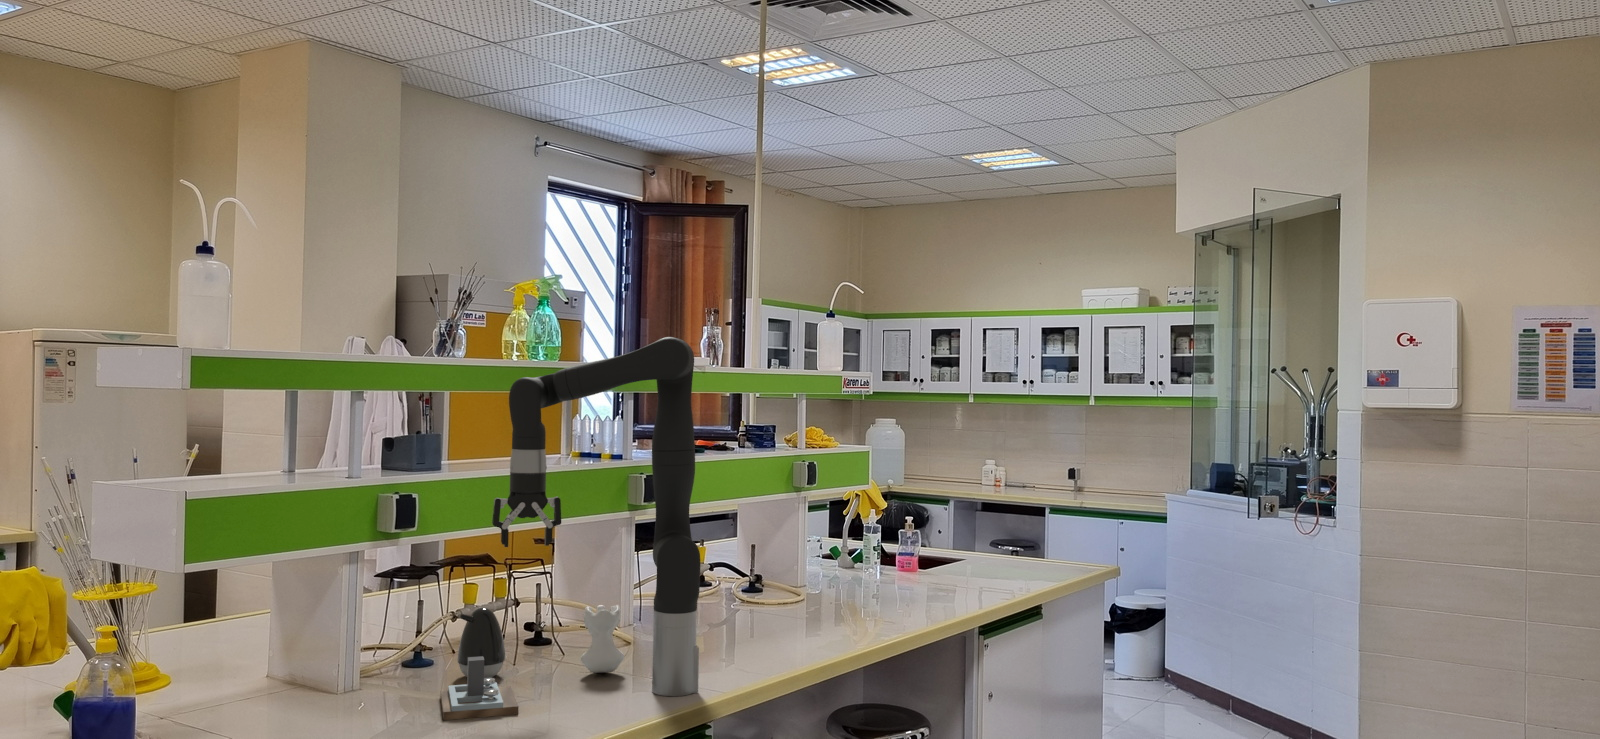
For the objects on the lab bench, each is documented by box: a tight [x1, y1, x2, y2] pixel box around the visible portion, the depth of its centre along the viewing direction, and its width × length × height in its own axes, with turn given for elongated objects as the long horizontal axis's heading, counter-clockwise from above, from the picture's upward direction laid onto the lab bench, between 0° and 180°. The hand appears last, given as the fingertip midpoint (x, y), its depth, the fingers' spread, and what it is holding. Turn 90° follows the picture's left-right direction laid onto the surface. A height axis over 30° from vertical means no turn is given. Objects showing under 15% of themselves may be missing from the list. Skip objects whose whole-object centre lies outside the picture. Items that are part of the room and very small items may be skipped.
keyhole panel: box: [447, 656, 503, 711], centre depth 223 cm, size 10×16×8 cm, turn 20°
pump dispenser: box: [456, 607, 506, 678], centre depth 246 cm, size 10×10×15 cm
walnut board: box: [439, 677, 520, 721], centre depth 223 cm, size 14×16×4 cm
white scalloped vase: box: [580, 604, 625, 674], centre depth 251 cm, size 10×11×15 cm
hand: (526, 546), depth 238 cm, fingers open, 8 cm apart
